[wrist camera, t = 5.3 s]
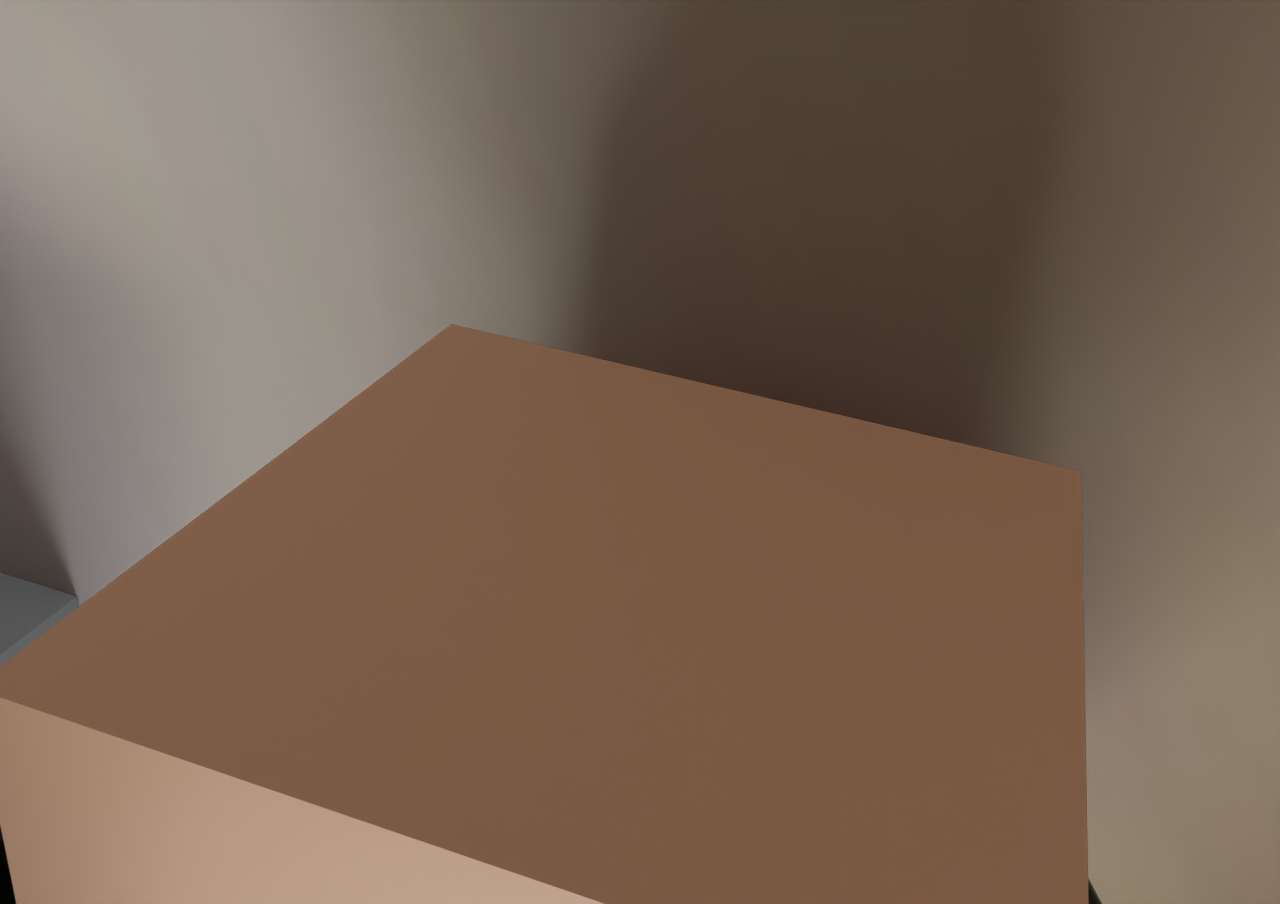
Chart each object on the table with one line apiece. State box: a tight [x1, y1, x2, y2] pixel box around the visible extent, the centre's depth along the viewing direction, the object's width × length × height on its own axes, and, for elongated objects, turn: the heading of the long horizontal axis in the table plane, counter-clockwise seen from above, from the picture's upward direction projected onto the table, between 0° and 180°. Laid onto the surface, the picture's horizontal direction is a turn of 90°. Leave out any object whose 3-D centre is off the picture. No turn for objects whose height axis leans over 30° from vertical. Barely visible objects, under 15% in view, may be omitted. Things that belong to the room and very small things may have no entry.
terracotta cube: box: [0, 324, 1089, 904], centre depth 8 cm, size 5×5×5 cm
